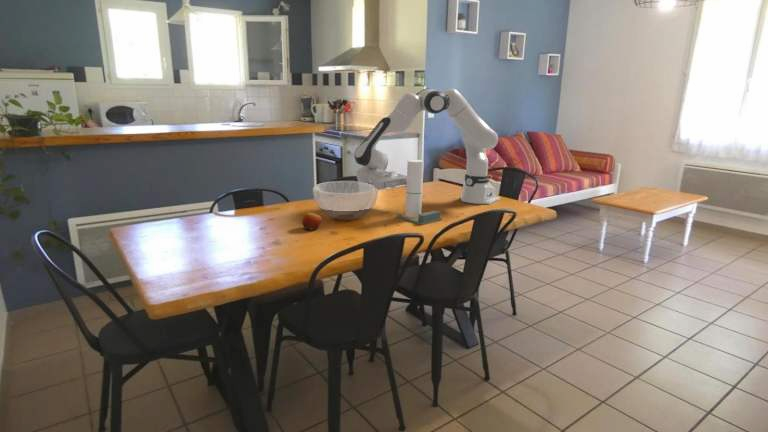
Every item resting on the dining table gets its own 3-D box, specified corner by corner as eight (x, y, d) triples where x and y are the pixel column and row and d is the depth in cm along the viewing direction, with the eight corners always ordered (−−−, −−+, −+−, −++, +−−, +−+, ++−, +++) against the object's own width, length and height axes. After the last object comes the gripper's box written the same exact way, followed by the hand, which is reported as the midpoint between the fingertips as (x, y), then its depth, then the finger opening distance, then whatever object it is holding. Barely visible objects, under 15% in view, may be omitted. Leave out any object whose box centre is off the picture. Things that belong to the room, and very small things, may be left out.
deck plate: (415, 212, 220) (415, 204, 219) (441, 220, 208) (441, 211, 207) (395, 216, 212) (395, 208, 210) (421, 225, 200) (421, 216, 199)
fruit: (296, 228, 187) (300, 209, 189) (304, 232, 194) (309, 214, 196) (313, 230, 184) (318, 211, 186) (321, 235, 192) (326, 217, 194)
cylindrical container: (421, 213, 214) (423, 159, 207) (420, 217, 207) (423, 162, 201) (406, 212, 215) (408, 159, 208) (405, 216, 208) (407, 161, 201)
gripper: (365, 175, 215) (385, 180, 206) (396, 171, 229) (417, 175, 219) (365, 188, 217) (385, 194, 207) (396, 183, 230) (416, 188, 221)
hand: (401, 184), depth 213 cm, fingers open, 8 cm apart
